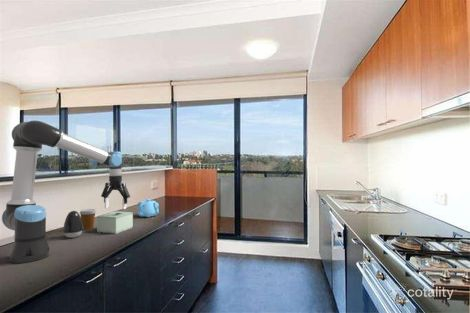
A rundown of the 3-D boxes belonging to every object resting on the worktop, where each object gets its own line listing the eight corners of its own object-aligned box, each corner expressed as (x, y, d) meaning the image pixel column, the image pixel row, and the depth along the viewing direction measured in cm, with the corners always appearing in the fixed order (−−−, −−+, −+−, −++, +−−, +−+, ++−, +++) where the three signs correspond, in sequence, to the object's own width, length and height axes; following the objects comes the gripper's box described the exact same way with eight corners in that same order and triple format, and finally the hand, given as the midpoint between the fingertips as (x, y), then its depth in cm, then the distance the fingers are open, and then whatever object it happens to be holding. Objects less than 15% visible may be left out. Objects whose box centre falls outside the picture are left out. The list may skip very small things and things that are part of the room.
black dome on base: (60, 240, 155) (60, 213, 155) (66, 235, 165) (66, 209, 165) (80, 238, 157) (80, 212, 158) (85, 233, 167) (85, 208, 168)
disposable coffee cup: (94, 229, 177) (94, 211, 177) (77, 230, 174) (77, 211, 175) (97, 226, 186) (97, 208, 186) (81, 227, 184) (81, 209, 184)
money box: (116, 233, 167) (115, 217, 167) (97, 232, 171) (97, 216, 171) (132, 227, 182) (132, 212, 182) (115, 226, 186) (115, 211, 186)
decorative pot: (159, 217, 213) (159, 200, 213) (137, 219, 208) (137, 201, 208) (157, 213, 228) (157, 197, 229) (137, 214, 223) (137, 198, 223)
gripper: (135, 175, 177) (135, 208, 177) (103, 174, 184) (103, 206, 184) (128, 176, 170) (128, 210, 170) (95, 175, 177) (95, 208, 177)
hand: (115, 208), depth 177 cm, fingers open, 13 cm apart
